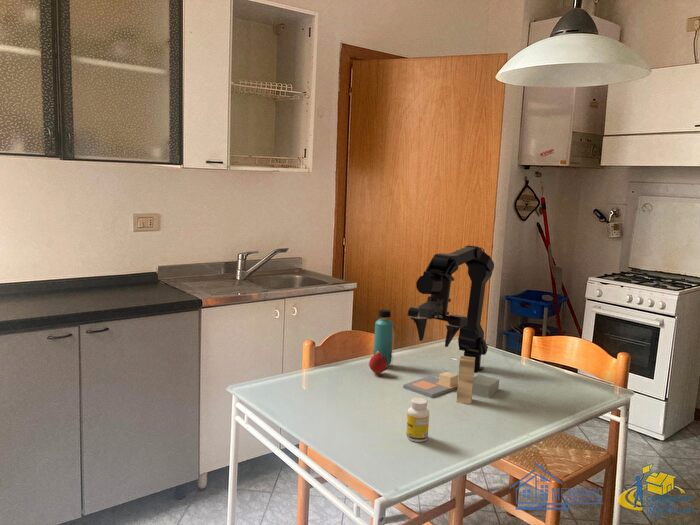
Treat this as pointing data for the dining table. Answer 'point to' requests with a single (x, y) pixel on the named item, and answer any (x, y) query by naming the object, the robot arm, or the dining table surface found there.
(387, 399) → the dining table surface
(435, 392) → the board
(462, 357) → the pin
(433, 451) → the dining table surface
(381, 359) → the onion
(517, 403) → the dining table surface
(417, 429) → the supplement bottle
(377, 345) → the beverage bottle
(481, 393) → the cover
